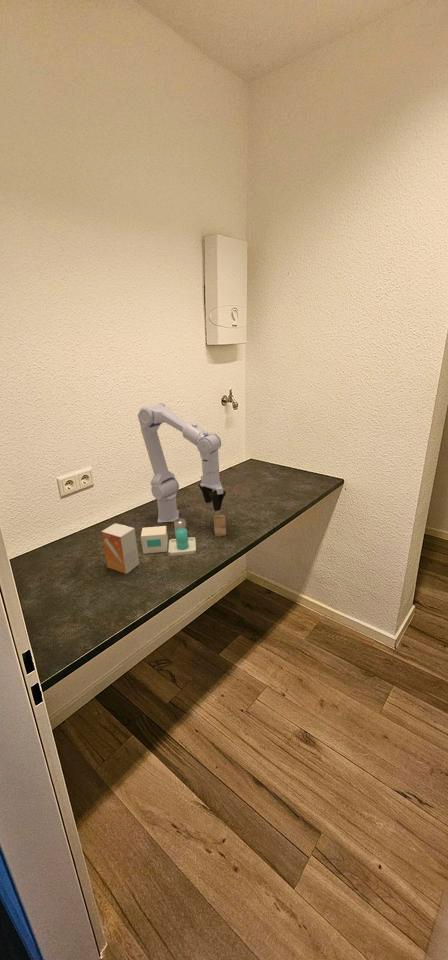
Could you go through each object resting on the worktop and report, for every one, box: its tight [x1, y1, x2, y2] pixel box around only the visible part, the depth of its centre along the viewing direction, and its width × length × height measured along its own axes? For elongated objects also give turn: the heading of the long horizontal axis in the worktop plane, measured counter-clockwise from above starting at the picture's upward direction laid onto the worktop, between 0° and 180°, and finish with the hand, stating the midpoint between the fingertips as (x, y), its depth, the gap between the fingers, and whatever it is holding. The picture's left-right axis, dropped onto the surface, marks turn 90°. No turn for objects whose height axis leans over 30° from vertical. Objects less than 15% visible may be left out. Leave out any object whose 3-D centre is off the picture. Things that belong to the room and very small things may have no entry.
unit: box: [140, 525, 169, 554], centre depth 133 cm, size 7×8×6 cm
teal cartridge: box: [174, 527, 189, 550], centre depth 132 cm, size 4×4×6 cm
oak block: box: [213, 514, 227, 537], centre depth 141 cm, size 4×4×6 cm
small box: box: [100, 522, 140, 575], centre depth 122 cm, size 8×6×13 cm
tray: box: [167, 536, 197, 557], centre depth 133 cm, size 9×9×1 cm
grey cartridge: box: [173, 517, 187, 538], centre depth 140 cm, size 4×4×6 cm
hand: (212, 506), depth 140 cm, fingers open, 7 cm apart
